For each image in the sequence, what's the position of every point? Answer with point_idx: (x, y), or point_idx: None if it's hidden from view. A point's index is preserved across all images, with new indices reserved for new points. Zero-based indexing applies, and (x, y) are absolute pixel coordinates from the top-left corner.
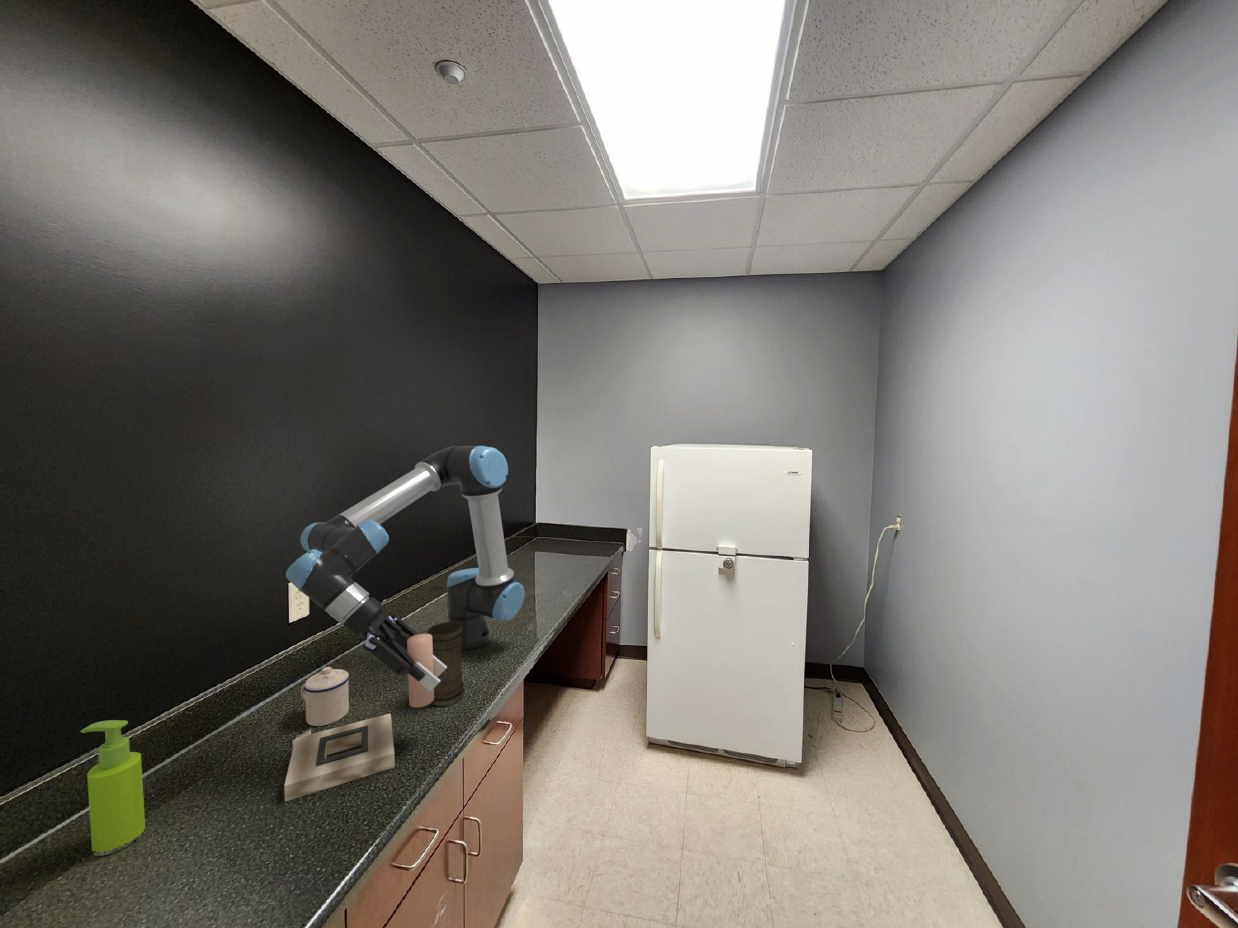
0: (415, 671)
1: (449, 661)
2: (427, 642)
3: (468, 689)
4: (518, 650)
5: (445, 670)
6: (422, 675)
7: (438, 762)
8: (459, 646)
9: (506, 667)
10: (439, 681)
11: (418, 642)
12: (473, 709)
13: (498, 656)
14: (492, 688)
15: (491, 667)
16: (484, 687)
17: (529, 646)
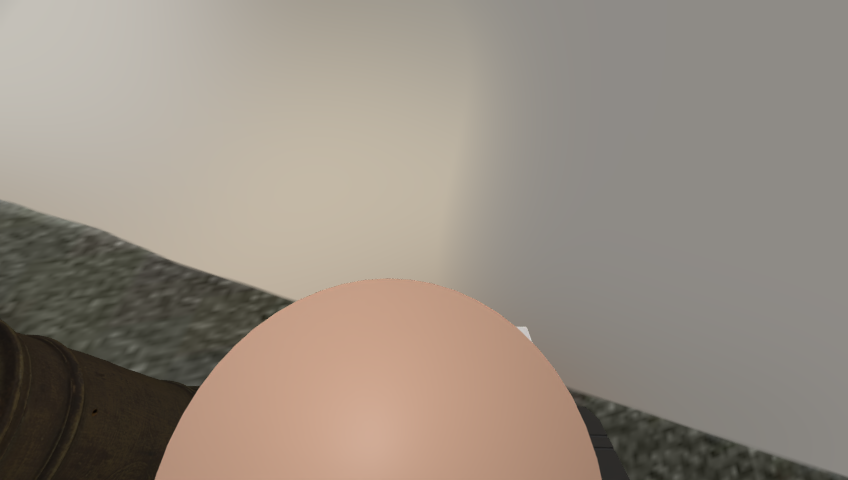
0: (626, 477)
1: (131, 402)
2: (497, 316)
3: (180, 382)
4: (9, 256)
5: (163, 431)
6: (589, 418)
7: (571, 395)
8: (51, 340)
9: (99, 277)
10: (519, 329)
11: (533, 462)
12: None
13: (5, 314)
14: (209, 301)
15: (69, 326)
16: (192, 328)
17: (6, 227)
